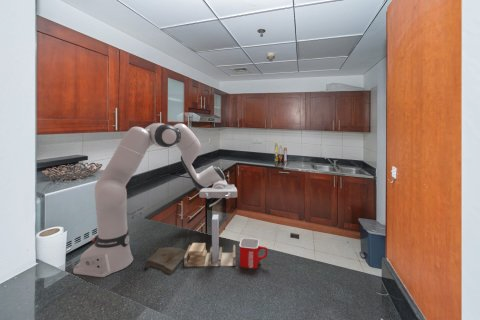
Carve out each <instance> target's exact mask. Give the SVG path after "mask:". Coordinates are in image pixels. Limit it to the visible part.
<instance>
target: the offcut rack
mask: <svg viewBox="0 0 480 320" xmlns="http://www.w3.org/2000/svg"><path fill="white" fill-rule="evenodd" d="M191 246H192V244H189V245H188V247H187V250H186V251H187V252H186V254H185V257H184V259H183V262H184V263H183V264H184V266H183V267H231V266H233V267H234V266H235V267H236V244H233V245H232V246H233V247H232V252H223V247H222V246H219V258H218V263H212V246H210V249H209V252H207V256H206V260H205V265H188V260H189V257H190V255H189V249H190V247H191Z"/></svg>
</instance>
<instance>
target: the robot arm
mask: <svg viewBox="0 0 480 320" xmlns="http://www.w3.org/2000/svg"><path fill="white" fill-rule="evenodd" d="M153 145H154V146H157V147H161V148H171V147H173V146H174V145H176V147H177V148H178V150H179V151H180V152H181V156H180V161H181V163H182V166H183V167H184V169H185V170H186V172H187V175H188V176H189V177H190V180H191V182H192V184H193V186H194V187H195V188H196V190H199V193H198V194H199V198H203V199H204V198H205V199H207V200H211V199H215V198H216V199H222V198H225V200H228V199H230V198H238V189H237V187H236V186H235V184H234V183H233V184H232V183H228V182H227V180H226V176H225V173H224V171H223V169H222V168H221V167H220V166H218V165H215V164H212V165H211V166H209V167H208V168H205V169H204V170H202V171H200V172H199V173H197V171H196V170H195V168H194V166H193V165H192V164H193V163H194V161H195V160H196V159H197V157H198V156H199V154H200V152H201V149H202V145H201V142H200V140H199V139H198V137H197V136H196V134H194V132H193V131H192V130H191V129H190V128H189V127H188V126H187V125H186V124H184V123H176V124H174V125H170V124H166V123H163V122H153V123H149V124H148V125H146V126H145V127H141V126H133V127H131V128H129V129H128V130H127V132H126V133H125V135H124V136H123V137H122V139H121V140H120V142H119V144H118V146H117V147H116V149H115V151H114V153H113V154H112V157H111V158H110V160H109V162H108V164H107V165H106V167H105V168H104V169H103V171H102V173H101V175H100V176H99V178H98V180H97V181H96V183H95V185H94V199H95V200H94V201H95V211H96V224H97V226H96V227H97V234H96V235H95V236H94V238H92V239H91V242H92V243H93V242H94V244H92V245H91V246H89V247H88V248H87V249H86V250H85V251H83V253H82V254H81V256H80V258H79V262H78V263H77V264H76V265H75V266H74V268H73V270H72V271H73V274H75V275H81V276H82V275H83V276H90V277H96V278H97V277H98V278H105V277H107V276H109V275H111V274H113V273H116V272H119V271H121V270H123V269H125V268H127V267H129V266H130V265H131V263H132V262H133V261H134V256H133V254H132V251H131V248H130V247H131V246H130V231H129V229H128V217H127V216H128V215H127V213H128V212H127V210H128V195H127V193H128V192H127V191H128V190H127V188H126V186H127V185H128V183H129V182H130V180H131V178H132V177H133V176H134V175H135V174H136V172H137V170H138V169H139V166H140V165H141V163H142V161H143V159H144V156H145V154H146V153H147V150H149V148H150V147H151V146H153ZM209 186H212V187H209Z"/></svg>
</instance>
